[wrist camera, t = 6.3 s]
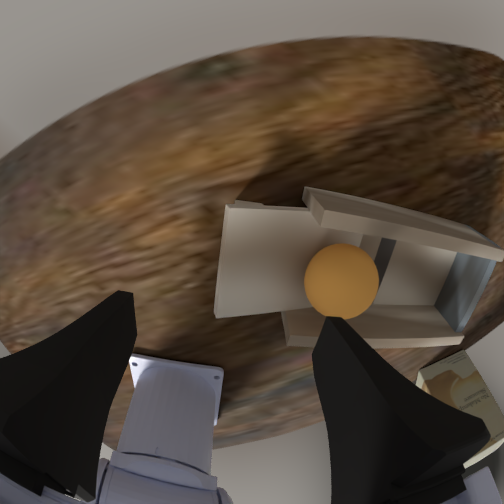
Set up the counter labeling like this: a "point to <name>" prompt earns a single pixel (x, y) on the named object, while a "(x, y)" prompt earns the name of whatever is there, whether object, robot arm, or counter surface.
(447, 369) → the skincare box
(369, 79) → the counter surface
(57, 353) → the robot arm
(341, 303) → the ball
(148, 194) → the counter surface
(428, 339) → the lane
